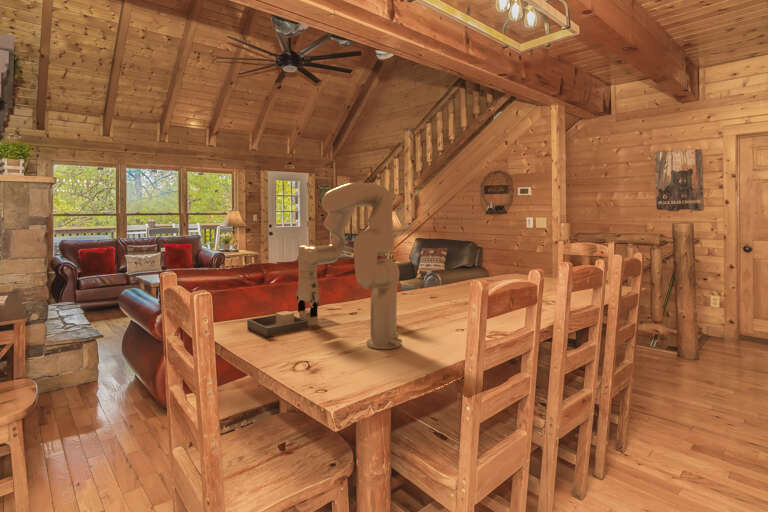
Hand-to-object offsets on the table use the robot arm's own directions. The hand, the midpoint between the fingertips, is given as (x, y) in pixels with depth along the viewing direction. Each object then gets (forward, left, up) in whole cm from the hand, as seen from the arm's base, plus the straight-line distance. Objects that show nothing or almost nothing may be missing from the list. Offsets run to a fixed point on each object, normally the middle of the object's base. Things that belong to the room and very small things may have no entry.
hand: (307, 314), depth 190 cm
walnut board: (-3, -4, -5) cm, 7 cm away
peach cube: (+3, +9, -4) cm, 10 cm away
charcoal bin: (+3, +12, -5) cm, 14 cm away
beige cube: (-1, 0, -4) cm, 4 cm away
